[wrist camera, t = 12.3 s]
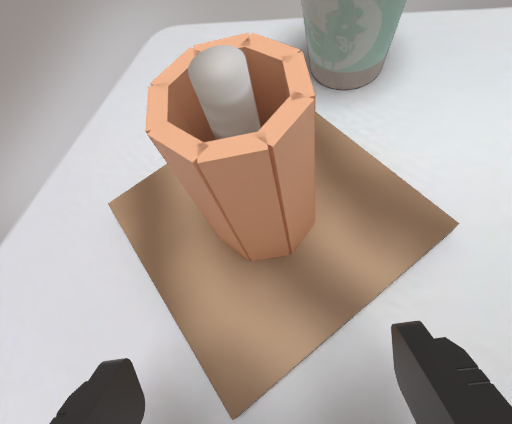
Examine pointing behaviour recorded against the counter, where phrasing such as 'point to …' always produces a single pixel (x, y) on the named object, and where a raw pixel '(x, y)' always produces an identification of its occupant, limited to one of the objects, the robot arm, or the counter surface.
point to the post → (280, 268)
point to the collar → (244, 149)
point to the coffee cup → (349, 39)
